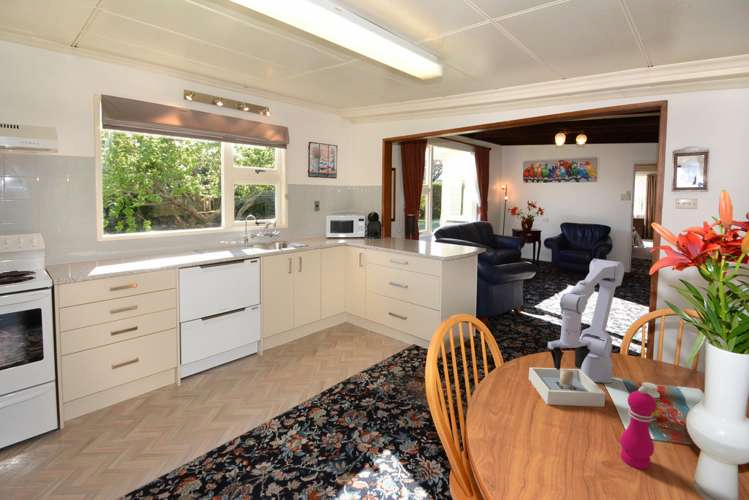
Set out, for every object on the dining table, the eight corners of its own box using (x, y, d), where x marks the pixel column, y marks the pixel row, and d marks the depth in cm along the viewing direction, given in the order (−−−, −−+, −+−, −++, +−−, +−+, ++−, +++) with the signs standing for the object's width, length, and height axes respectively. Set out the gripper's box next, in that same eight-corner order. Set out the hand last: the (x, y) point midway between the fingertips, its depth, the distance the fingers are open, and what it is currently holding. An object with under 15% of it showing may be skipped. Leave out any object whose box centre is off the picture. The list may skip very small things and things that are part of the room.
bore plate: (575, 383, 144) (575, 378, 144) (591, 400, 132) (592, 395, 132) (541, 382, 144) (541, 377, 144) (554, 399, 132) (554, 393, 132)
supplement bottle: (651, 423, 121) (655, 391, 119) (631, 414, 125) (635, 383, 124) (660, 418, 124) (664, 386, 122) (640, 409, 128) (644, 379, 127)
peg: (566, 387, 140) (568, 368, 139) (574, 393, 137) (576, 373, 136) (556, 388, 140) (558, 369, 139) (563, 394, 136) (565, 374, 135)
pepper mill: (621, 448, 108) (628, 377, 106) (653, 460, 104) (662, 386, 101) (616, 461, 103) (624, 387, 100) (650, 474, 98) (659, 397, 96)
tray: (578, 380, 148) (579, 369, 147) (604, 406, 130) (605, 393, 129) (528, 379, 148) (529, 367, 148) (547, 404, 131) (548, 391, 130)
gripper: (582, 324, 140) (579, 362, 142) (543, 326, 138) (541, 364, 140) (596, 331, 133) (593, 370, 135) (556, 333, 131) (552, 373, 133)
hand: (567, 368), depth 137 cm, fingers open, 7 cm apart
